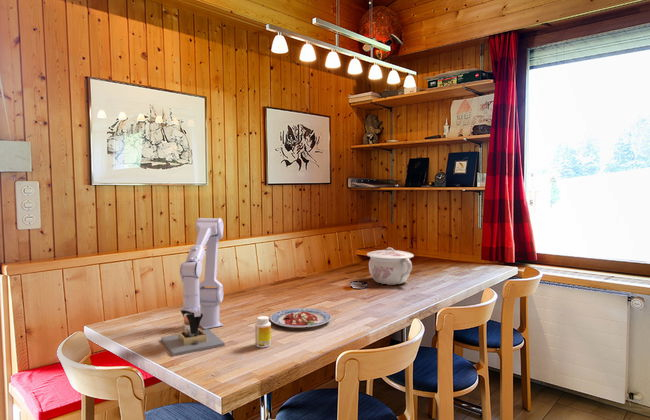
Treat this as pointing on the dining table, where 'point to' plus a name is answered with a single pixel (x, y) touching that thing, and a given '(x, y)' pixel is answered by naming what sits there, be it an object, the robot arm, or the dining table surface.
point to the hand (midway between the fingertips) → (192, 331)
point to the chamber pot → (390, 266)
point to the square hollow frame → (192, 338)
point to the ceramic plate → (300, 317)
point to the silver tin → (188, 327)
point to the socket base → (179, 348)
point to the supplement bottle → (263, 332)
